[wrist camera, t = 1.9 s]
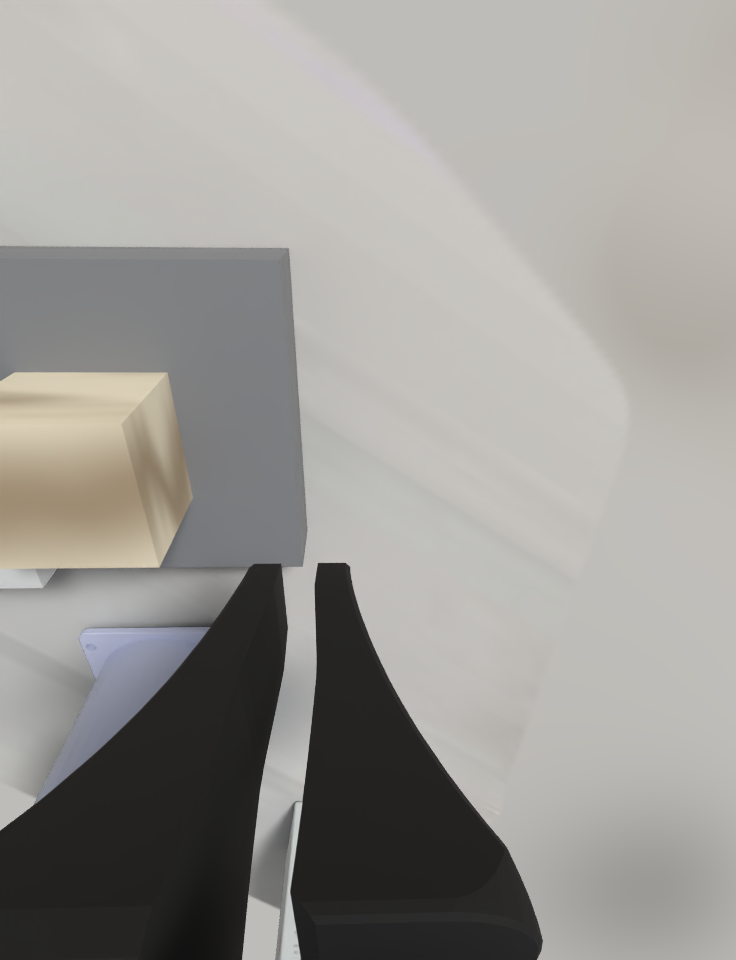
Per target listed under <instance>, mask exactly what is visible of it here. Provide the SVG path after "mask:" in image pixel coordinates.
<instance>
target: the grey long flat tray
mask: <svg viewBox="0 0 736 960" xmlns="http://www.w3.org/2000/svg"><path fill="white" fill-rule="evenodd" d="M15 372H135V373H168V377H169V382H170V387H171V392H172V397H173V402H174V407H175V412H176V417H177V422H178V427H179V431H180V436H181V441H182V446H183V451H184V456H185V461H186V466H187V471H188V476H189V481H190V486H191V491H192V496H193V499H192V501H191V503H190V505H189V507H188V509H187V511H186V513H185V515H184V517H183V520H182V522H181V524H180V526H179V528H178V530H177V532H176V534H175V536H174V538H173V540H172V542H171V544H170V547H169V549H168V551H167V553H166V555H165V557H164V559H163V561H162V563H161V565H160V567H159V568H196V567H251V566H252V565H253V564H280V563H281V567H303V560H304V552H305V545H306V537H307V519H306V504H305V488H304V473H303V458H302V442H301V427H300V412H299V397H298V381H297V366H296V351H295V336H294V320H293V305H292V290H291V275H290V259H289V248H157V247H13V246H0V381H2V380H3V379H5V378H6V377H8V376H10V375H11V374H13V373H15ZM57 569H81V568H50V569H0V588H44V586H45V585H46V584H47V582H48V581H49V579H50V578H51V577H52V575H53V574H54V573H55V571H56V570H57Z"/></svg>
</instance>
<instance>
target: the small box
mask: <svg viewBox="0 0 736 960" xmlns="http://www.w3.org/2000/svg"><path fill="white" fill-rule="evenodd" d="M301 810H302V802H296V803H295V805H294V813H293V819H292V825H291V832H290V838H289V844H288V850H287V855H286V863H285V872H284V881H283V891H282V900H281V910H280V919H279V929H278V939H277V949H276V959H275V960H301V956H300V950H299V944H298V938H297V932H296V925H295V919H294V913H293V907H292V901H291V895H290V889H291V882H292V875H293V868H294V861H295V854H296V846H297V839H298V832H299V824H300V817H301Z"/></svg>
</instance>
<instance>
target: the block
mask: <svg viewBox="0 0 736 960" xmlns="http://www.w3.org/2000/svg"><path fill="white" fill-rule="evenodd" d="M192 499H193V496H192V491H191V486H190V481H189V476H188V471H187V466H186V461H185V456H184V451H183V446H182V441H181V436H180V431H179V427H178V422H177V417H176V412H175V407H174V402H173V397H172V392H171V387H170V382H169V377H168V373H135V372H15V373H13V374H11V375H10V376H8V377H6V378H5V379H3V380H2V381H0V569H50V568H159V567H160V565H161V563H162V561H163V559H164V557H165V555H166V553H167V551H168V549H169V547H170V544H171V542H172V540H173V538H174V536H175V534H176V532H177V530H178V528H179V526H180V524H181V522H182V520H183V517H184V515H185V513H186V511H187V509H188V507H189V505H190V503H191V501H192Z"/></svg>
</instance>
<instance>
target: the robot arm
mask: <svg viewBox="0 0 736 960" xmlns="http://www.w3.org/2000/svg"><path fill="white" fill-rule="evenodd" d="M315 614H316V647H317V673H316V686H315V696H314V706H313V716H312V725H311V734H310V743H309V752H308V761H307V769H306V777H305V785H304V794H303V802H302V810H301V817H300V824H299V832H298V839H297V846H296V854H295V861H294V868H293V875H292V882H291V889H290V895H291V901H292V907H293V913H294V919H295V925H296V932H297V938H298V944H299V950H300V956H301V960H537V958H538V956H539V954H540V952H541V949H542V942H543V940H542V936H541V932H540V928H539V924H538V921H537V918H536V916H535V912H534V910H533V907H532V904H531V901H530V899H529V896H528V893H527V891H526V888H525V886H524V884H523V881H522V879H521V877H520V874H519V872H518V870H517V868H516V866H515V864H514V862H513V860H512V858H511V855H510V853H509V851H508V849H507V847H506V846H505V845H504V843H503V842H502V841H501V840H500V838H499V837H498V836H497V835H496V834H495V833H494V831H493V830H492V829H491V828H490V827H489V825H488V824H487V823H486V822H485V821H484V819H483V818H482V817H481V816H480V814H479V813H478V812H477V811H476V809H475V808H474V807H473V806H472V804H471V803H470V802H469V801H468V799H467V798H466V797H465V795H464V794H463V793H462V791H461V790H460V789H459V787H458V786H457V785H456V783H455V782H454V781H453V779H452V778H451V777H450V776H449V774H448V773H447V771H446V770H445V768H444V767H443V766H442V764H441V763H440V761H439V760H438V758H437V757H436V755H435V754H434V752H433V751H432V749H431V748H430V747H429V745H428V744H427V742H426V741H425V739H424V738H423V736H422V735H421V733H420V732H419V730H418V729H417V727H416V725H415V724H414V722H413V720H412V719H411V717H410V716H409V714H408V712H407V711H406V709H405V707H404V705H403V704H402V702H401V700H400V698H399V697H398V695H397V693H396V691H395V689H394V688H393V686H392V684H391V682H390V680H389V678H388V676H387V674H386V672H385V670H384V668H383V666H382V664H381V662H380V660H379V657H378V655H377V653H376V651H375V649H374V646H373V644H372V642H371V639H370V637H369V634H368V632H367V629H366V627H365V624H364V622H363V619H362V616H361V613H360V610H359V607H358V604H357V601H356V597H355V594H354V590H353V586H352V581H351V574H350V566H348V565H347V564H346V563H318V567H317V573H316V580H315ZM287 630H288V625H287V616H286V606H285V596H284V587H283V577H282V567H281V563H280V564H253V565H252V566H251V567H250V568H249V569H248V571H247V573H246V575H245V576H244V578H243V580H242V581H241V583H240V585H239V586H238V588H237V589H236V591H235V592H234V594H233V595H232V597H231V598H230V600H229V601H228V603H227V604H226V606H225V607H224V609H223V610H222V612H221V613H220V614H219V616H218V617H217V619H216V620H215V621H214V623H213V624H212V626H211V627H164V628H88V629H84V630H83V631H82V632H81V634H80V636H79V641H80V643H81V646H82V648H83V651H84V653H85V656H86V658H87V660H88V663H89V665H90V668H91V670H92V672H93V675H94V677H95V680H96V681H95V683H94V685H93V687H92V689H91V691H90V693H89V695H88V697H87V699H86V701H85V703H84V705H83V707H82V709H81V711H80V713H79V715H78V717H77V719H76V721H75V723H74V725H73V727H72V729H71V731H70V733H69V735H68V737H67V739H66V741H65V743H64V745H63V747H62V749H61V751H60V753H59V755H58V757H57V759H56V761H55V763H54V765H53V767H52V769H51V771H50V773H49V775H48V777H47V779H46V781H45V783H44V785H43V787H42V789H41V791H40V793H39V795H38V797H37V799H36V801H35V803H34V805H33V806H32V807H31V808H30V809H28V810H27V811H26V812H24V813H23V814H22V815H20V816H19V817H18V818H16V819H15V820H14V821H12V822H11V823H10V824H8V825H7V826H6V827H4V828H3V829H2V830H1V831H0V960H242V953H243V943H244V933H245V922H246V912H247V902H248V892H249V883H250V873H251V864H252V855H253V845H254V836H255V828H256V819H257V811H258V802H259V793H260V787H261V781H262V775H263V769H264V764H265V759H266V754H267V749H268V745H269V740H270V735H271V730H272V725H273V721H274V716H275V711H276V706H277V701H278V696H279V691H280V686H281V682H282V677H283V671H284V663H285V653H286V641H287Z"/></svg>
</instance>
